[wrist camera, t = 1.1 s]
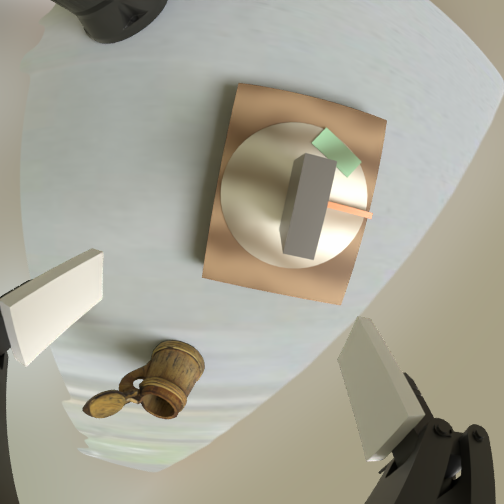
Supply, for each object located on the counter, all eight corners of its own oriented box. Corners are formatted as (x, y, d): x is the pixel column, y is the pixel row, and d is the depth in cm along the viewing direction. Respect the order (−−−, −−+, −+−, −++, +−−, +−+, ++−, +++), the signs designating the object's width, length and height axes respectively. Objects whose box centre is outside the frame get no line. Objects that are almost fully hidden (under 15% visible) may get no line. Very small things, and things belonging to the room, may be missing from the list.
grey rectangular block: (292, 161, 28) (305, 152, 18) (376, 184, 28) (424, 190, 18) (278, 226, 31) (282, 253, 20) (361, 245, 30) (399, 278, 20)
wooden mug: (134, 321, 41) (77, 390, 23) (210, 352, 41) (181, 439, 24) (130, 357, 43) (84, 425, 26) (198, 386, 44) (171, 466, 26)
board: (242, 92, 30) (238, 81, 26) (375, 125, 30) (388, 119, 26) (208, 267, 37) (201, 278, 33) (334, 292, 37) (341, 306, 33)
